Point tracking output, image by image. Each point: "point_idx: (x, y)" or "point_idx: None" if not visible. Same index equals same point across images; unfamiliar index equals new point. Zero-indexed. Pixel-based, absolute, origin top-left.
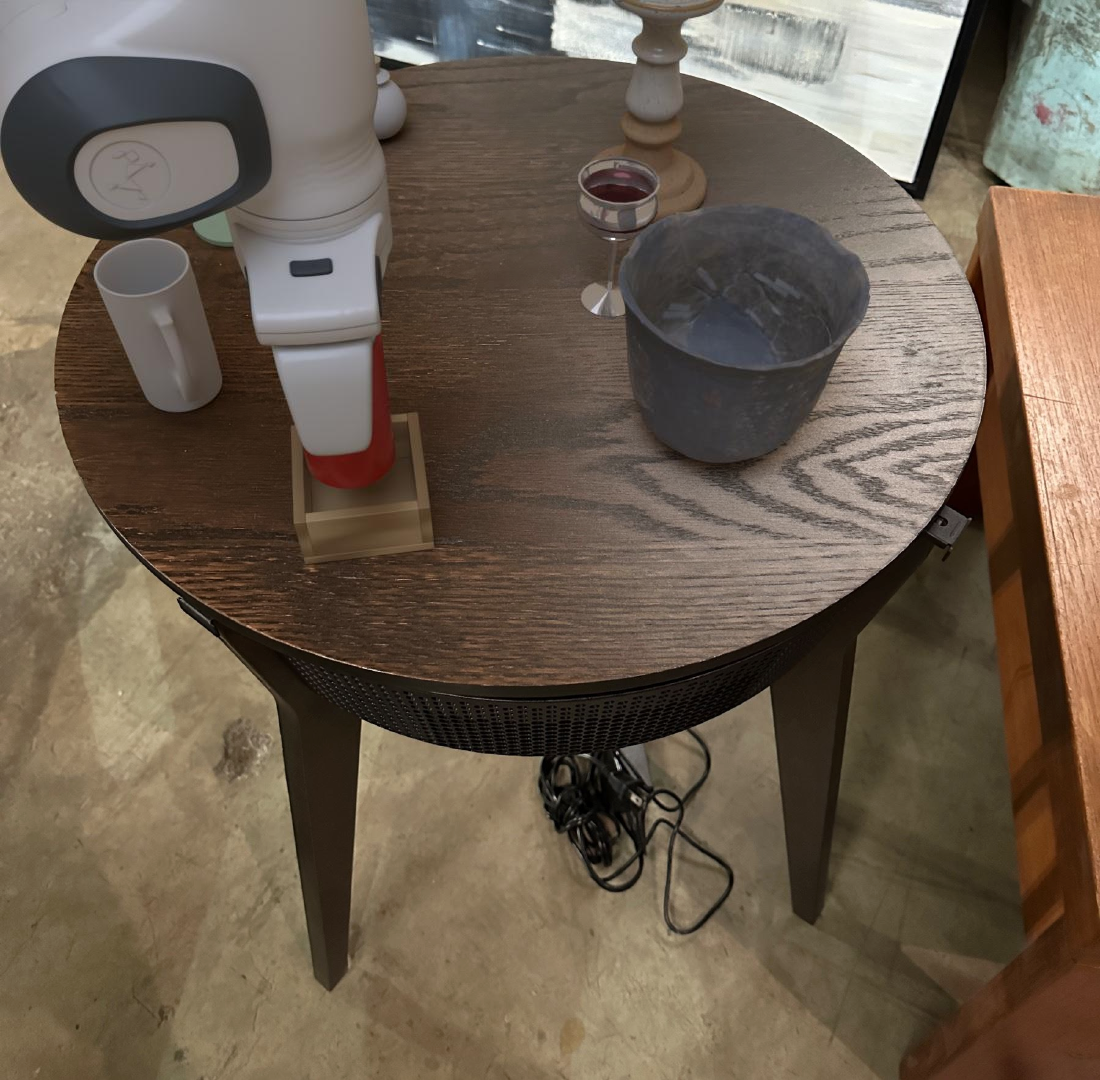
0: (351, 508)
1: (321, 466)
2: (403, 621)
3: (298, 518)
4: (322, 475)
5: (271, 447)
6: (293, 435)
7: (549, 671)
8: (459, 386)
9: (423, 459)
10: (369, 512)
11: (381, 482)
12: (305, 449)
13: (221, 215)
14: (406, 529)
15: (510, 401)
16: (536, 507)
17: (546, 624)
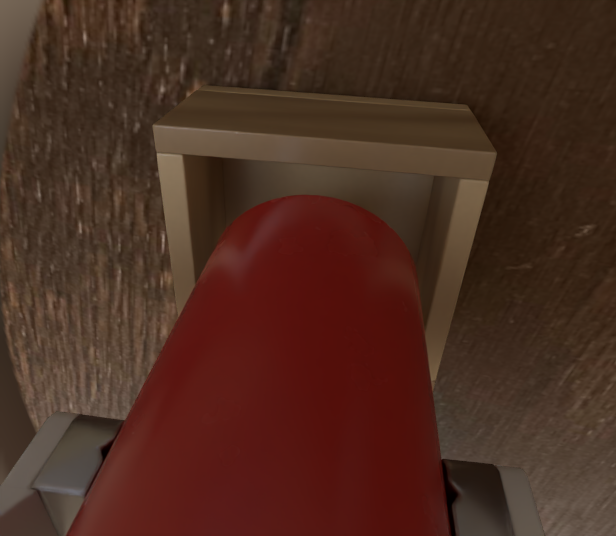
0: (189, 250)
1: (209, 262)
2: (83, 228)
3: (167, 137)
4: (222, 240)
5: (568, 36)
6: (453, 156)
7: (23, 367)
8: (558, 391)
9: None
10: (178, 278)
11: None
12: (253, 245)
13: None
14: None
15: (488, 437)
16: None
17: (89, 380)
